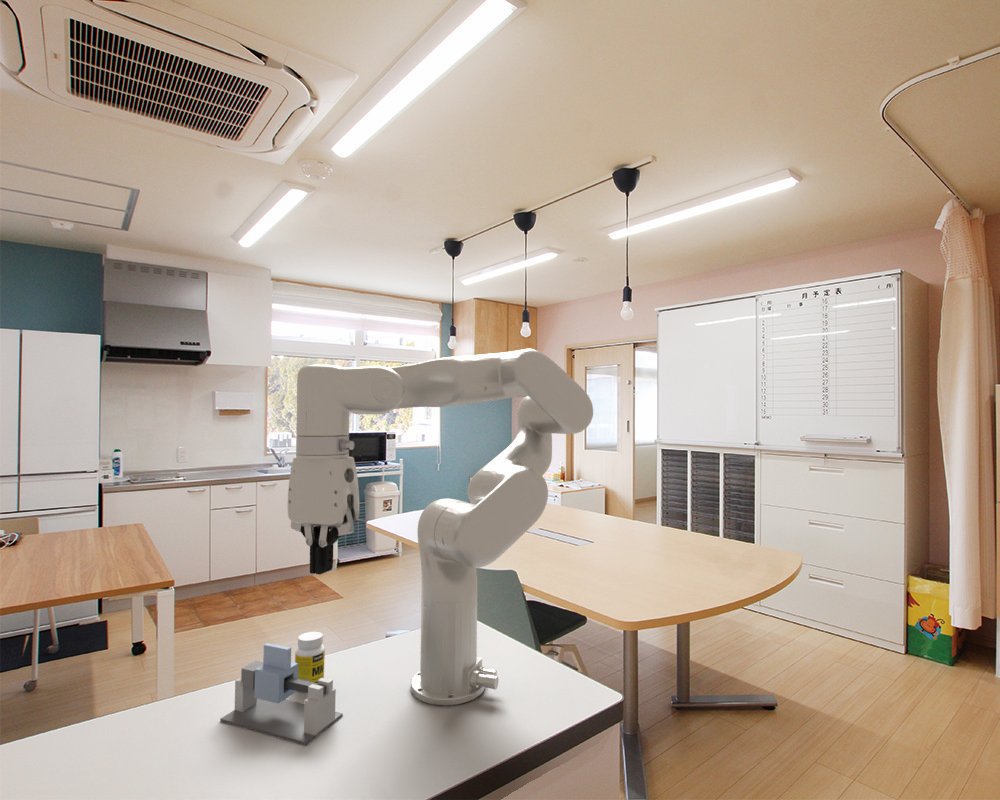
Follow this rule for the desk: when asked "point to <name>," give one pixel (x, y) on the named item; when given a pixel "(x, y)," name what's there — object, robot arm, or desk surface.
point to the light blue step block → (275, 673)
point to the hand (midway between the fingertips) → (321, 571)
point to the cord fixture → (284, 708)
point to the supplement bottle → (310, 657)
